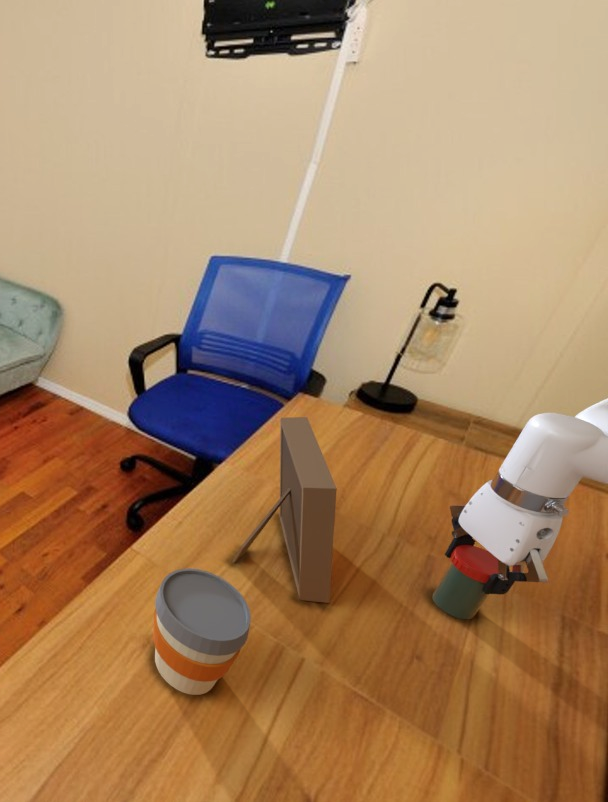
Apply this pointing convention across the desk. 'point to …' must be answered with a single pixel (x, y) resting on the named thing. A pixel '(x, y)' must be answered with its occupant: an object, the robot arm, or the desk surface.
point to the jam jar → (459, 594)
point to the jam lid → (475, 562)
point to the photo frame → (304, 510)
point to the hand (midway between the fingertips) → (473, 573)
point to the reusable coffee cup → (198, 629)
